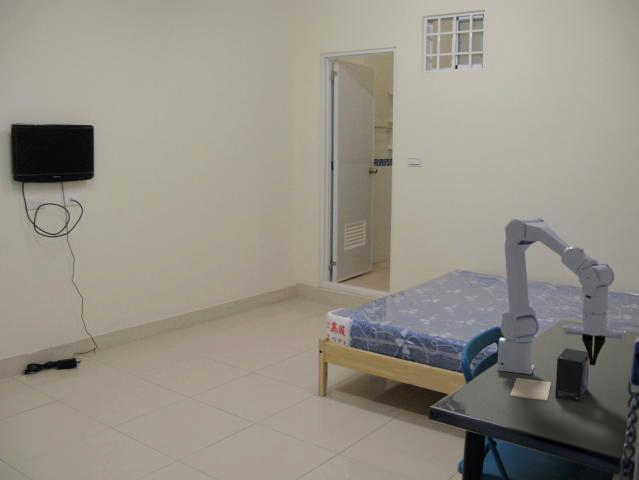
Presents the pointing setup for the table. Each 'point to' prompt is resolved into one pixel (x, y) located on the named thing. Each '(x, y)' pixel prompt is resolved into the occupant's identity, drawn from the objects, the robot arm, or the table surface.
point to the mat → (531, 389)
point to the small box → (572, 374)
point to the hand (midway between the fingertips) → (592, 364)
